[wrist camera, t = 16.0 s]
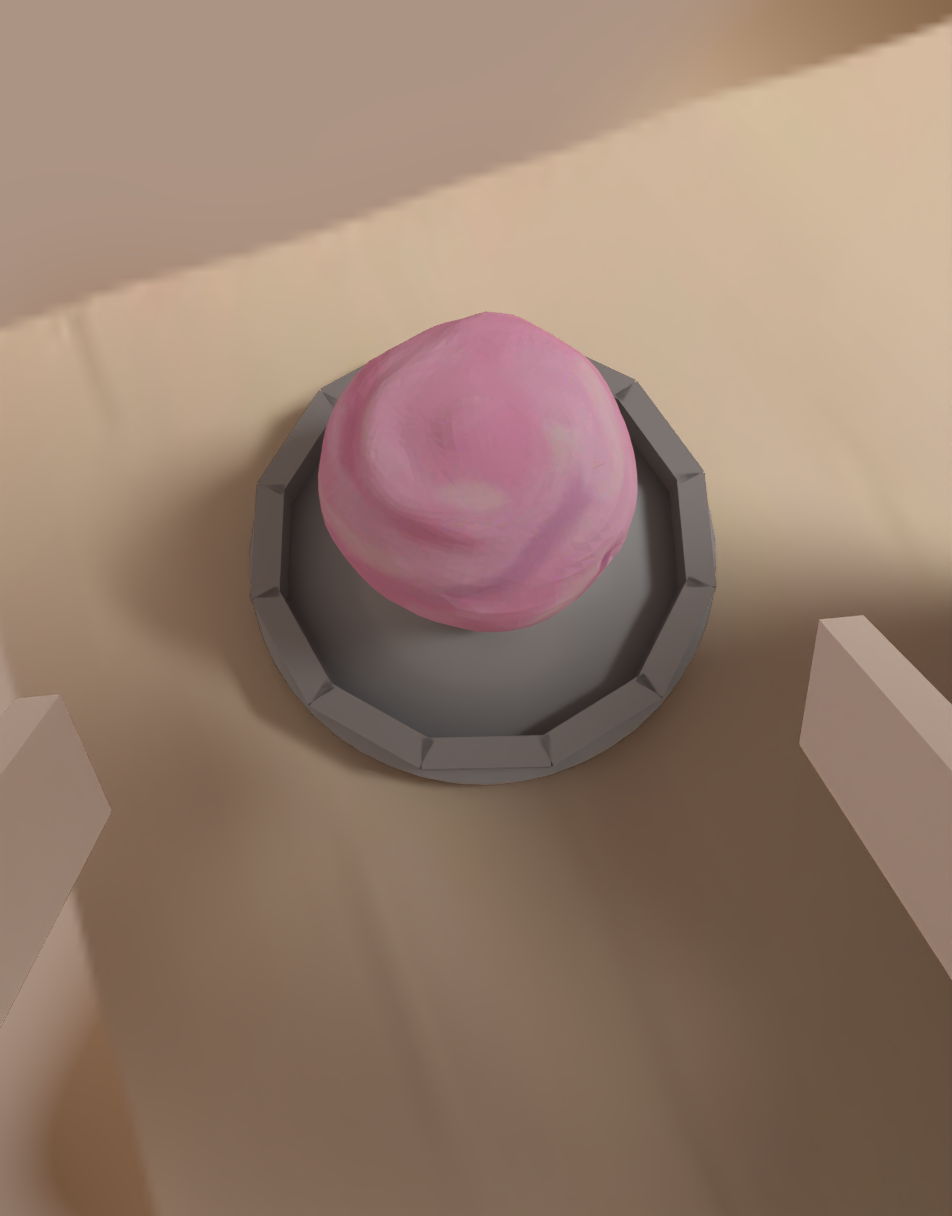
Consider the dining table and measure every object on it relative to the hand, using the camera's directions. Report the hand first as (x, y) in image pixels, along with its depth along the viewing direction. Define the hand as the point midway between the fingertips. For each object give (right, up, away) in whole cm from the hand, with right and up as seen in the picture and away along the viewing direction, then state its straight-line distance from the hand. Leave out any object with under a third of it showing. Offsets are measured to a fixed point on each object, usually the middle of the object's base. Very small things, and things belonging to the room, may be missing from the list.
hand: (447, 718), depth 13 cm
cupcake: (+1, +4, +14) cm, 15 cm away
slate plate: (+1, +4, +15) cm, 16 cm away
